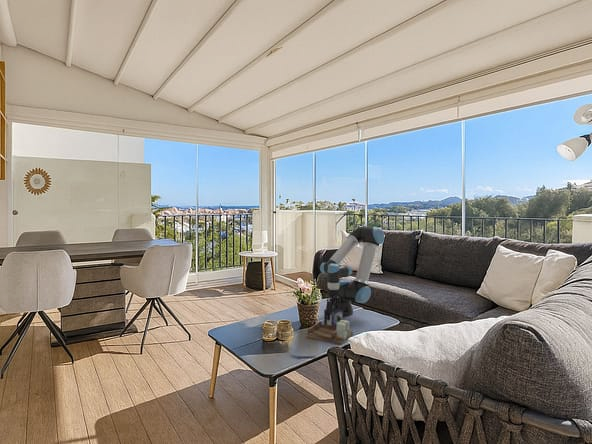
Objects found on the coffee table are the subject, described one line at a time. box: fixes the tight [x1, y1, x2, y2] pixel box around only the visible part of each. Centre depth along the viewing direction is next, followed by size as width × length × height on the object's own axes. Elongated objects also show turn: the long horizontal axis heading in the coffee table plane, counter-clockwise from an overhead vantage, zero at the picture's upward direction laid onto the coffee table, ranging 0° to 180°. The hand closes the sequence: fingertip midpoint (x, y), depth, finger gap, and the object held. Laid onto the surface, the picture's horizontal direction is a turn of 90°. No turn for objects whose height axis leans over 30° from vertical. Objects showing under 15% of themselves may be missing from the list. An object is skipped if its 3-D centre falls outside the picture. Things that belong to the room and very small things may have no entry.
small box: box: [323, 308, 344, 327], centre depth 229 cm, size 11×6×10 cm, turn 112°
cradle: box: [306, 319, 354, 345], centre depth 213 cm, size 18×22×10 cm
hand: (333, 322), depth 229 cm, fingers closed on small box, 12 cm apart
